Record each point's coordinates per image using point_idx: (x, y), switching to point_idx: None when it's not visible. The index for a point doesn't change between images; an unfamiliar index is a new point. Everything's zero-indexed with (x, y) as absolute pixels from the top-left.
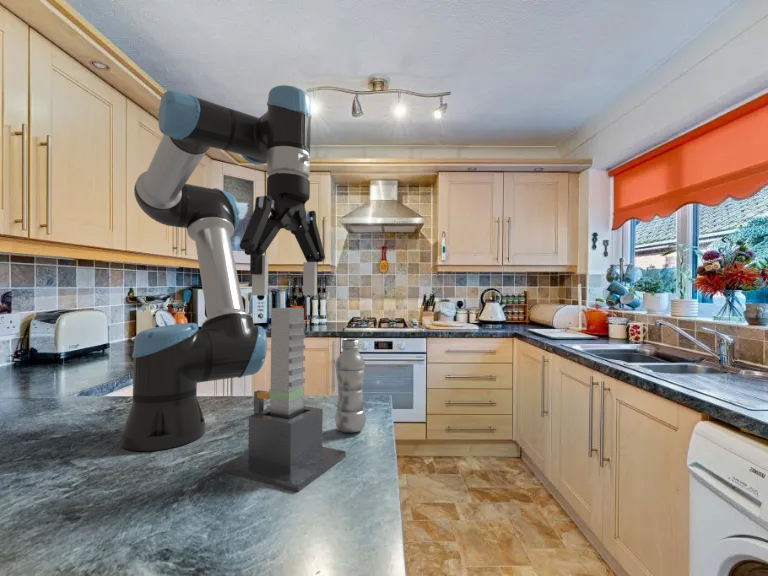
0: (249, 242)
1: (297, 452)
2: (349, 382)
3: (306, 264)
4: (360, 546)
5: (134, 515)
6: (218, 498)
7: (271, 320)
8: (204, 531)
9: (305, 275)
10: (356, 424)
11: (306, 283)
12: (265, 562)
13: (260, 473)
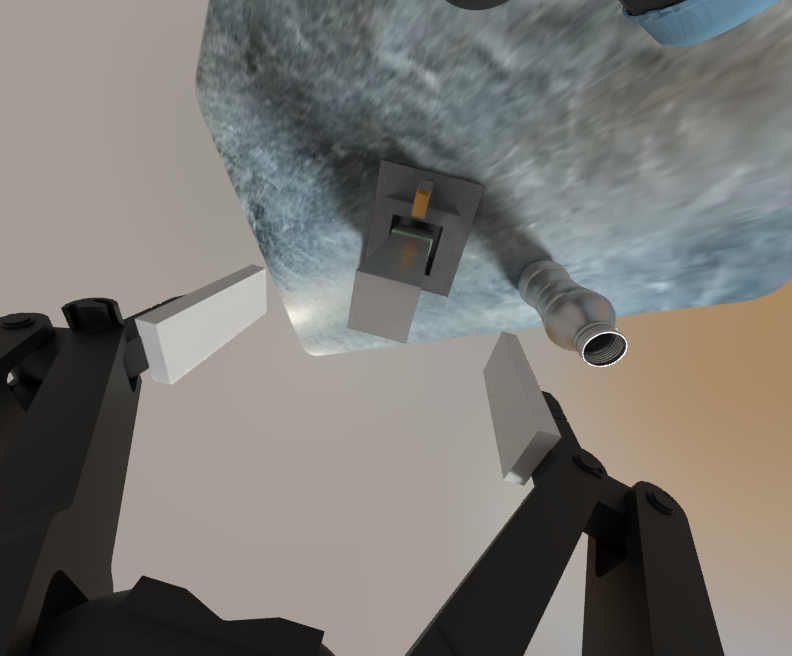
0: (16, 375)
1: None
2: (540, 312)
3: (524, 434)
4: (316, 335)
5: (280, 133)
6: (331, 200)
7: (365, 261)
8: (289, 223)
9: (512, 388)
10: (521, 297)
11: (504, 370)
12: (281, 286)
13: (373, 224)
